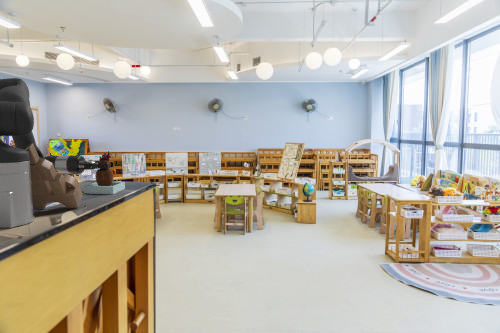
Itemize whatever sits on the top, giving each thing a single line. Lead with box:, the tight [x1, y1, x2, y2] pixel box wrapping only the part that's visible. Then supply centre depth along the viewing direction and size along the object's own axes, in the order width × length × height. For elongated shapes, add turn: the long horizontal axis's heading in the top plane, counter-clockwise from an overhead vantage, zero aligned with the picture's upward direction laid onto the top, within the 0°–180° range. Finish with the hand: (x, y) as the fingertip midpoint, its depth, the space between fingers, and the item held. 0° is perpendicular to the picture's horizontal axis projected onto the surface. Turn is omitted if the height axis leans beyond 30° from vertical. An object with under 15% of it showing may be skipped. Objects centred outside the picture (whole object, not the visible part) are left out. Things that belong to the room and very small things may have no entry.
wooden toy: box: [25, 143, 83, 210], centre depth 97 cm, size 16×7×25 cm
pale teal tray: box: [83, 181, 126, 195], centre depth 134 cm, size 12×12×3 cm
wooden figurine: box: [94, 150, 114, 186], centre depth 133 cm, size 7×6×15 cm
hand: (110, 165), depth 132 cm, fingers closed on wooden figurine, 4 cm apart
